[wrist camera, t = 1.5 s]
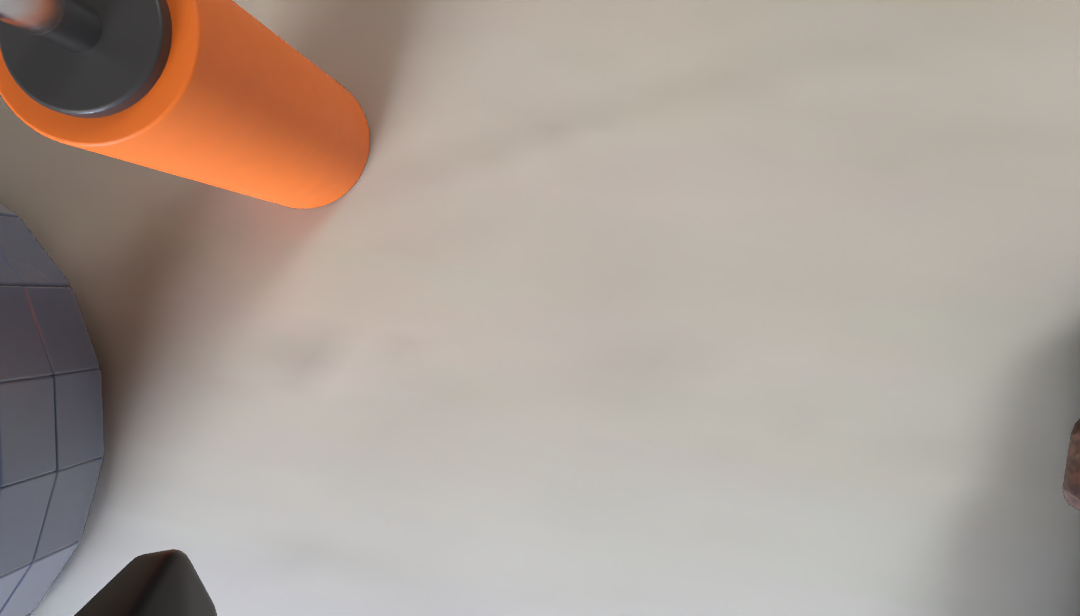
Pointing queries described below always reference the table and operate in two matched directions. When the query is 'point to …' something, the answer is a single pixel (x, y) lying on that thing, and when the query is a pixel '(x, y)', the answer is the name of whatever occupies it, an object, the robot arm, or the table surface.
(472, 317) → the table surface
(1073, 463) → the bolt
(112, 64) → the screwdriver
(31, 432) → the bowl
